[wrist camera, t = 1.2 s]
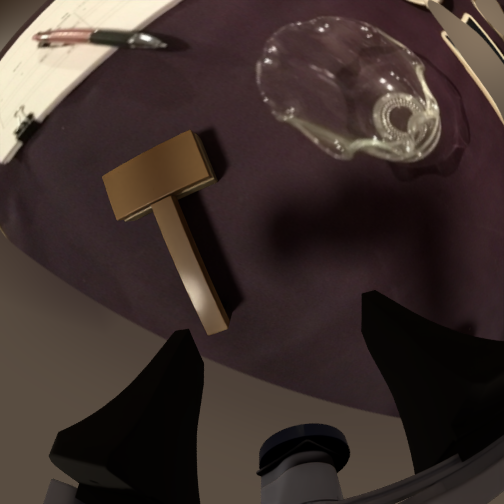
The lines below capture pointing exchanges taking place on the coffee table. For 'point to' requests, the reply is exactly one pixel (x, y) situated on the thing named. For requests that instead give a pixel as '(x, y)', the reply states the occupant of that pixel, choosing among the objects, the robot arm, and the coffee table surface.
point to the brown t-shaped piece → (172, 212)
